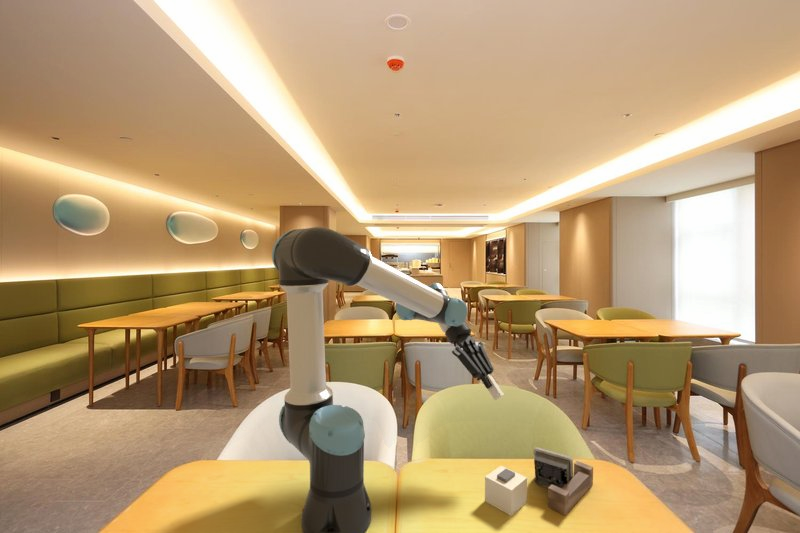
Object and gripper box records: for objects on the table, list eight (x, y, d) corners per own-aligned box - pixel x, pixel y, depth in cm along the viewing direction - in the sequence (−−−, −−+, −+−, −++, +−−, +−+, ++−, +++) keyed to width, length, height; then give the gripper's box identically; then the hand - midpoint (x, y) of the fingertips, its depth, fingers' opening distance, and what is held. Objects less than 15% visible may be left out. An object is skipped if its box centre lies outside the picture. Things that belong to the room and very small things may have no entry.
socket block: (484, 501, 88) (485, 473, 88) (500, 489, 93) (501, 462, 92) (511, 516, 83) (511, 486, 83) (526, 502, 87) (527, 474, 87)
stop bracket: (547, 506, 86) (548, 487, 86) (576, 477, 97) (577, 460, 97) (565, 515, 83) (565, 495, 83) (592, 484, 95) (593, 466, 94)
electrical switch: (574, 488, 93) (574, 453, 92) (570, 501, 89) (570, 465, 88) (535, 475, 98) (535, 443, 97) (530, 487, 94) (530, 453, 93)
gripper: (448, 321, 107) (495, 396, 95) (474, 318, 116) (520, 386, 104) (433, 336, 111) (477, 409, 99) (460, 331, 120) (502, 398, 108)
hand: (499, 397), depth 102 cm, fingers closed
